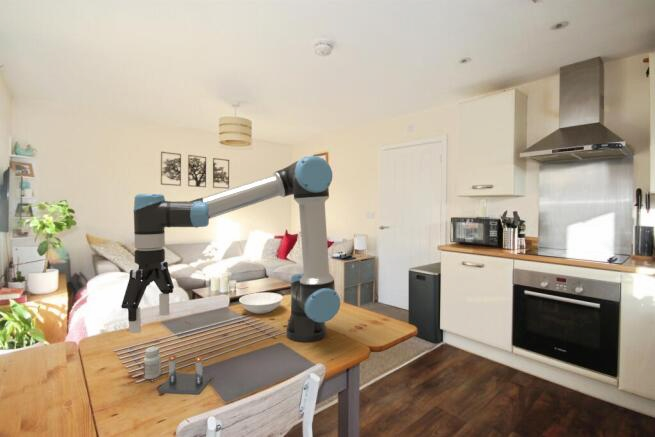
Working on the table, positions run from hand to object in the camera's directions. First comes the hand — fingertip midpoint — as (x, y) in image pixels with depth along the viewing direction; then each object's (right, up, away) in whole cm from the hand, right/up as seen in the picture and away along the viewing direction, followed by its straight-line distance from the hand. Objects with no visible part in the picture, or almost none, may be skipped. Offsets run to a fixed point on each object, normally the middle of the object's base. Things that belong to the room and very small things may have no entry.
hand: (150, 323), depth 92 cm
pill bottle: (0, -16, +1) cm, 16 cm away
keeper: (+12, -15, -4) cm, 20 cm away
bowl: (+20, -13, +56) cm, 61 cm away
